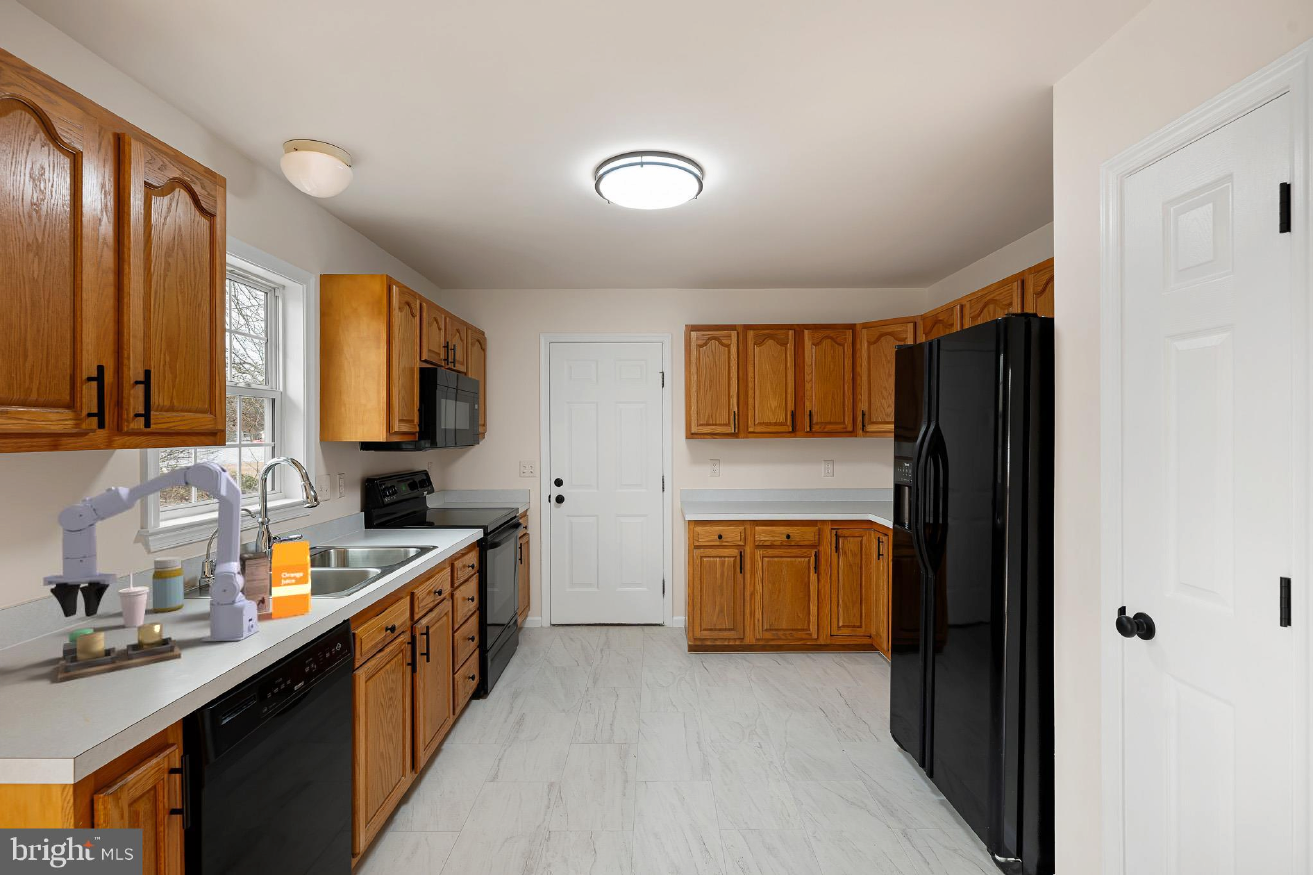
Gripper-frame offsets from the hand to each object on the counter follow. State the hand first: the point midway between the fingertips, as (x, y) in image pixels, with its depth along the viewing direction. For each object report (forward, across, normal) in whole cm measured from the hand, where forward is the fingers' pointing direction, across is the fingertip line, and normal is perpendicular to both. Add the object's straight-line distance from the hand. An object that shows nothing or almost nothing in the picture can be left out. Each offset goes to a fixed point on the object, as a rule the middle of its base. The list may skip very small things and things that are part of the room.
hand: (80, 615), depth 141 cm
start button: (+5, 0, 0) cm, 5 cm away
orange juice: (+10, -30, -32) cm, 45 cm away
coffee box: (+10, -17, -36) cm, 41 cm away
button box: (+9, 0, 0) cm, 9 cm away
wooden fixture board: (+9, -12, +4) cm, 16 cm away
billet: (+8, -16, +1) cm, 18 cm away
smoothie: (+10, +7, -24) cm, 27 cm away
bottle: (+10, +9, -39) cm, 41 cm away
